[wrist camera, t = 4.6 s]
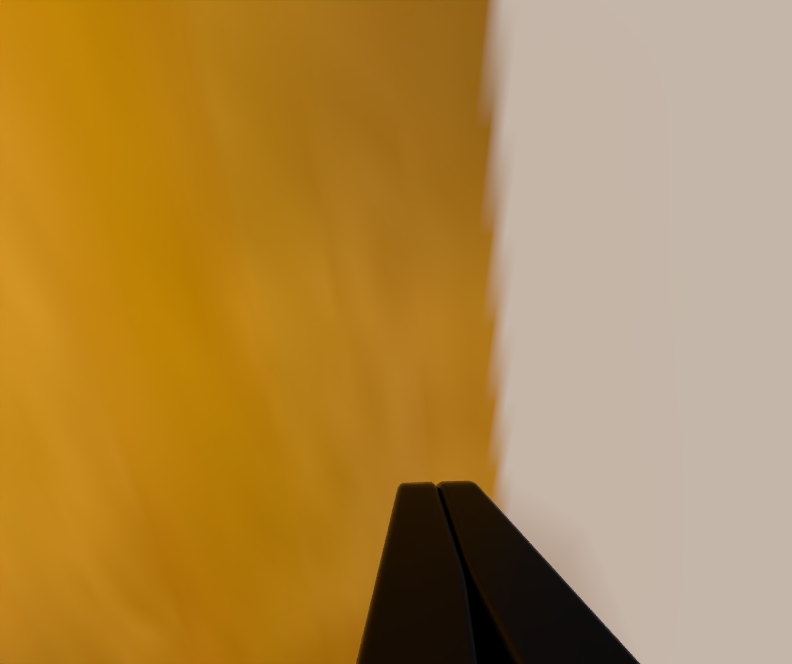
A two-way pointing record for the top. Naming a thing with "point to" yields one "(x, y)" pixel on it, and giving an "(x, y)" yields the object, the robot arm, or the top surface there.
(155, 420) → the top surface
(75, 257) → the top surface
